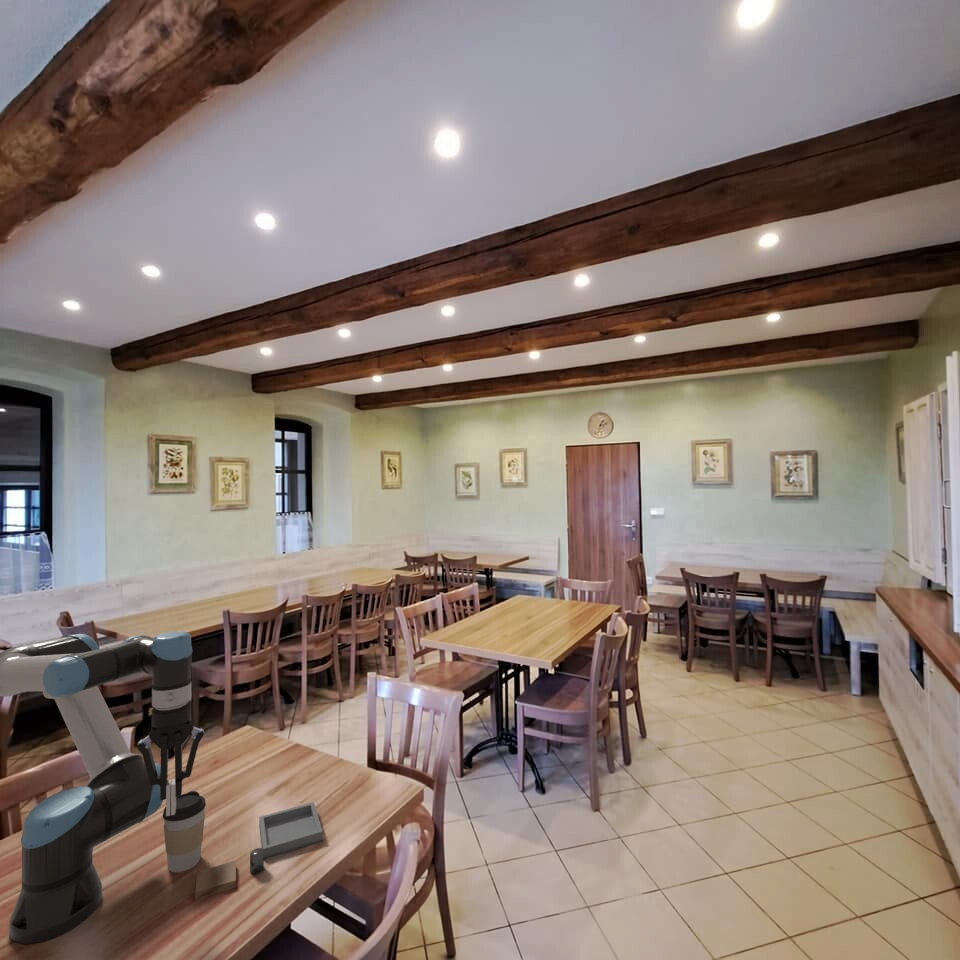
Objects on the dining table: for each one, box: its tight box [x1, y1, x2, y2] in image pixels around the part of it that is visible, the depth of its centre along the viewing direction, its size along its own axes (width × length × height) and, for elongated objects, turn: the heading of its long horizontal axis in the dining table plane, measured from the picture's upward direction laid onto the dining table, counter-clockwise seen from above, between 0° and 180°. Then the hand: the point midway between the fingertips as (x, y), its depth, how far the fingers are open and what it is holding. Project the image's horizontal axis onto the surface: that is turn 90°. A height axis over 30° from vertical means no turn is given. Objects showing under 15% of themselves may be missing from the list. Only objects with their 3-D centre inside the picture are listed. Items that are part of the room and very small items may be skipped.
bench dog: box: [249, 847, 265, 875], centre depth 120 cm, size 3×3×4 cm
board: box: [194, 860, 237, 900], centre depth 116 cm, size 8×7×2 cm
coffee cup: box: [162, 790, 207, 873], centre depth 123 cm, size 9×9×15 cm
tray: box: [258, 801, 324, 860], centre depth 133 cm, size 14×14×2 cm
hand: (171, 811), depth 113 cm, fingers closed
